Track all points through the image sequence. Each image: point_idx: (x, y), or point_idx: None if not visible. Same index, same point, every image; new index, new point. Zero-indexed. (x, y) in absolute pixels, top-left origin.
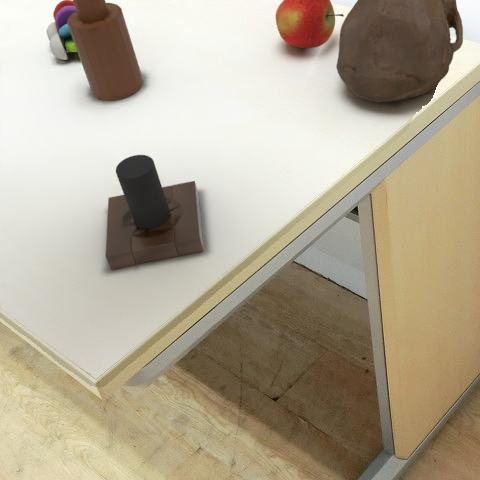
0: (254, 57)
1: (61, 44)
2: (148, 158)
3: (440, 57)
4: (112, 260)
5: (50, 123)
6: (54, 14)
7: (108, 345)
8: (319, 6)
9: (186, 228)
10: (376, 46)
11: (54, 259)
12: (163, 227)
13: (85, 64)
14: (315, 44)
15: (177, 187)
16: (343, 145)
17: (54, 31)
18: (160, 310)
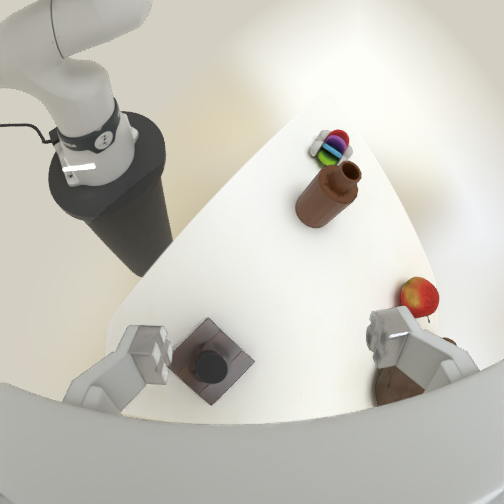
0: (382, 277)
1: (317, 150)
2: (225, 371)
3: None
4: None
5: (257, 196)
6: (332, 132)
7: None
8: (428, 313)
9: (213, 392)
10: (405, 397)
11: (152, 317)
12: None
13: (306, 194)
14: None
15: (242, 356)
16: (337, 403)
17: (324, 137)
18: (158, 411)
